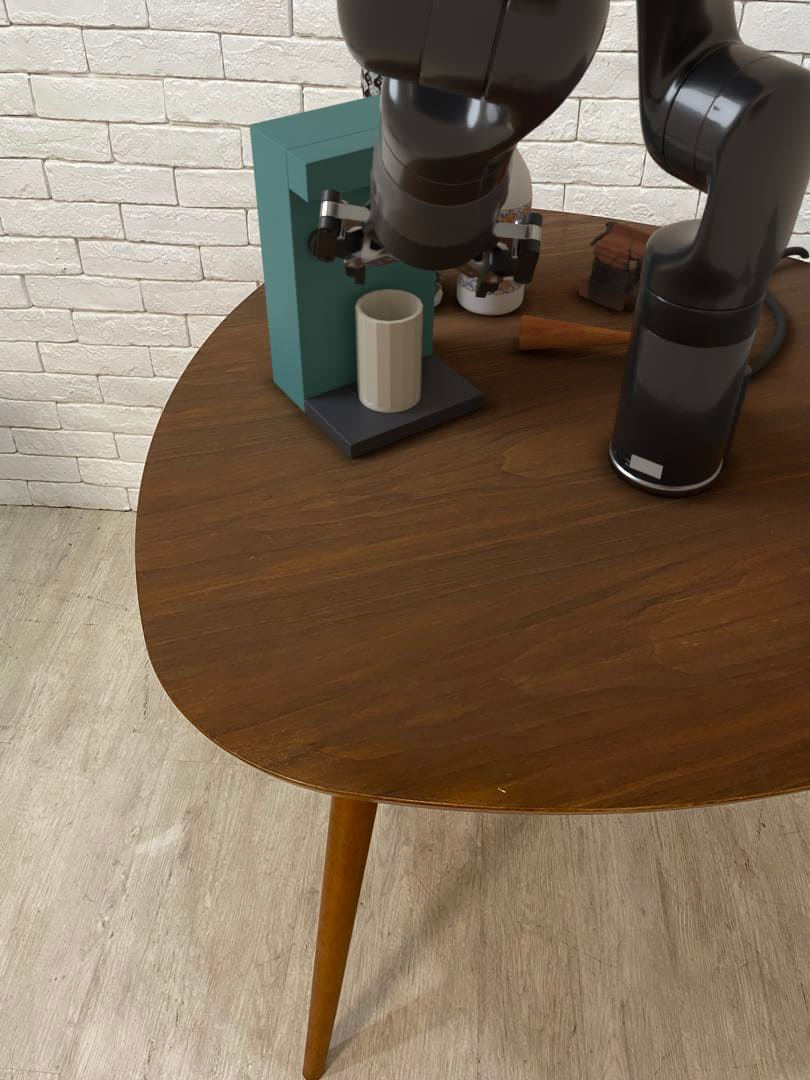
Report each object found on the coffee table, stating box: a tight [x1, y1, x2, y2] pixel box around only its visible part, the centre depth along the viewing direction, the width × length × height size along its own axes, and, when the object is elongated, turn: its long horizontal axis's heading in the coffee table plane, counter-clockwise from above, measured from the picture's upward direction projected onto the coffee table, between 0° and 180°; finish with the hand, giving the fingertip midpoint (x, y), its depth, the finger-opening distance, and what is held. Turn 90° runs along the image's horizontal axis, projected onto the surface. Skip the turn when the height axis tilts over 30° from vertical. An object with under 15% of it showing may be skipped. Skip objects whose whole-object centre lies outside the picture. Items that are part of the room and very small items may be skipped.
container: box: [355, 289, 423, 413], centre depth 91 cm, size 6×6×9 cm
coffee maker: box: [249, 94, 484, 459], centre depth 89 cm, size 14×14×24 cm
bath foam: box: [456, 147, 533, 316], centre depth 103 cm, size 7×7×20 cm
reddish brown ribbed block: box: [578, 221, 653, 313], centre depth 109 cm, size 12×10×8 cm
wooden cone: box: [518, 314, 631, 351], centre depth 100 cm, size 6×6×20 cm
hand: (421, 277), depth 74 cm, fingers open, 8 cm apart
